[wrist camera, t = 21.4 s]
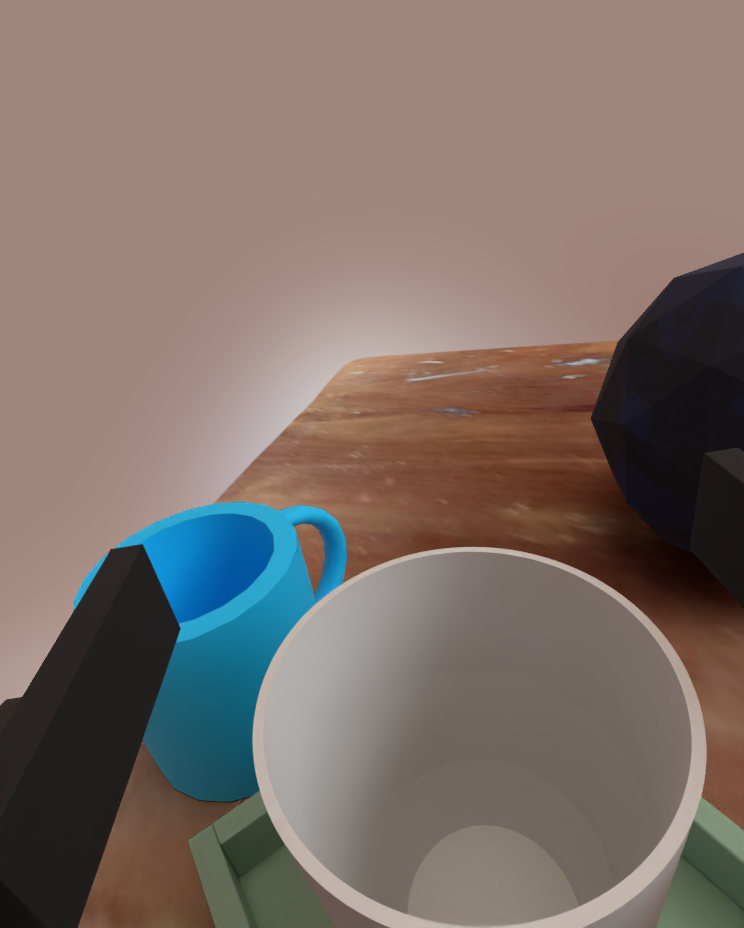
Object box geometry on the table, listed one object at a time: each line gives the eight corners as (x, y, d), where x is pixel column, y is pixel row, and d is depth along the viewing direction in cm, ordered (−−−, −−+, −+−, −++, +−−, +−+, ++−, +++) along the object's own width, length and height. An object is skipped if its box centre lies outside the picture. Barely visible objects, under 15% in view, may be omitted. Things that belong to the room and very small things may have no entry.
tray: (479, 1664, 8) (463, 1707, 7) (216, 888, 18) (186, 839, 17) (862, 1004, 13) (897, 950, 12) (496, 679, 23) (491, 629, 22)
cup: (651, 820, 17) (686, 568, 12) (661, 1249, 10) (745, 1077, 6) (404, 750, 20) (355, 531, 15) (298, 1044, 14) (157, 827, 9)
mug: (244, 846, 19) (163, 690, 15) (117, 741, 24) (30, 601, 20) (419, 617, 27) (395, 476, 23) (299, 572, 32) (262, 449, 28)
